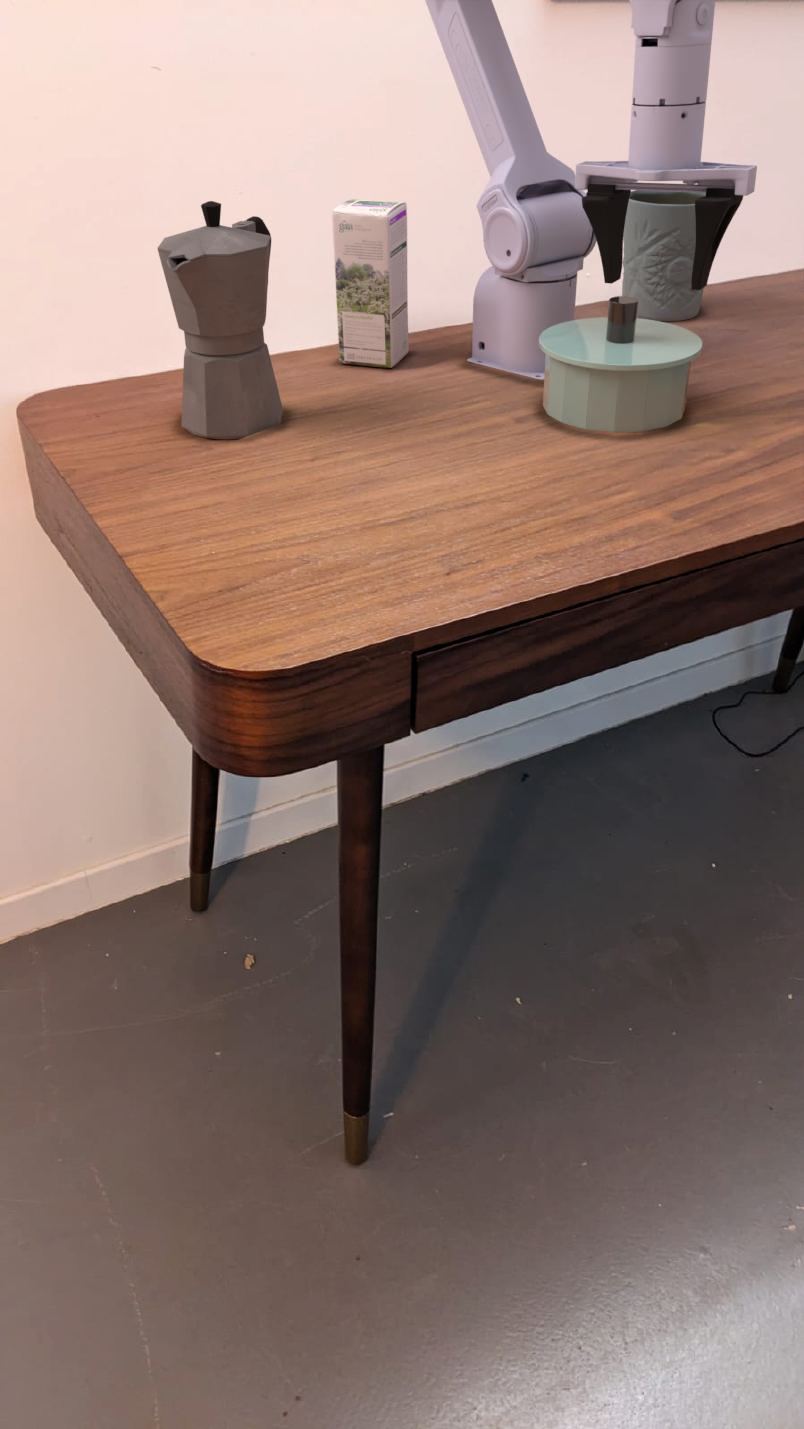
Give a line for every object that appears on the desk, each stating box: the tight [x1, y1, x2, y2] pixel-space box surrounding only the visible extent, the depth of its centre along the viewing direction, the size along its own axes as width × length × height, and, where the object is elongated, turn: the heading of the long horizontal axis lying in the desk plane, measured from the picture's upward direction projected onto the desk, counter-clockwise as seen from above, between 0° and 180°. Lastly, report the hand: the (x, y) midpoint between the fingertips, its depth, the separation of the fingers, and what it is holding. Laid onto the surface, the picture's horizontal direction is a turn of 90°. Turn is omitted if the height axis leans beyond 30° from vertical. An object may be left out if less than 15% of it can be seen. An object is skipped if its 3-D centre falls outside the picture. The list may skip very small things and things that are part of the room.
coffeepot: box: [157, 200, 284, 440], centre depth 95 cm, size 15×9×18 cm, turn 158°
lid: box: [539, 295, 704, 371], centre depth 95 cm, size 14×14×4 cm
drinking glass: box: [621, 190, 706, 322], centre depth 123 cm, size 10×10×12 cm
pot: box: [542, 354, 692, 433], centre depth 98 cm, size 12×12×6 cm
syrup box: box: [331, 199, 410, 369], centre depth 109 cm, size 6×6×14 cm
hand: (655, 284), depth 96 cm, fingers open, 7 cm apart
